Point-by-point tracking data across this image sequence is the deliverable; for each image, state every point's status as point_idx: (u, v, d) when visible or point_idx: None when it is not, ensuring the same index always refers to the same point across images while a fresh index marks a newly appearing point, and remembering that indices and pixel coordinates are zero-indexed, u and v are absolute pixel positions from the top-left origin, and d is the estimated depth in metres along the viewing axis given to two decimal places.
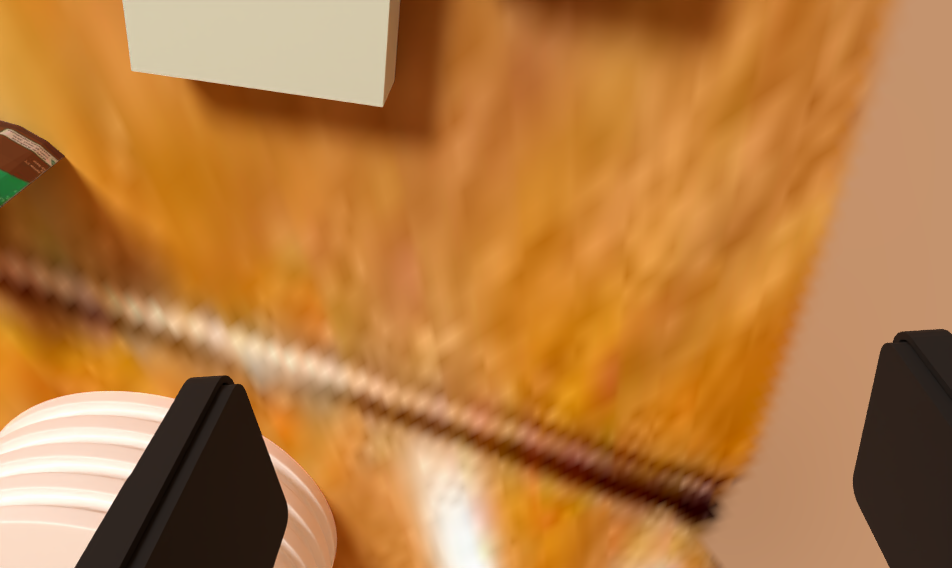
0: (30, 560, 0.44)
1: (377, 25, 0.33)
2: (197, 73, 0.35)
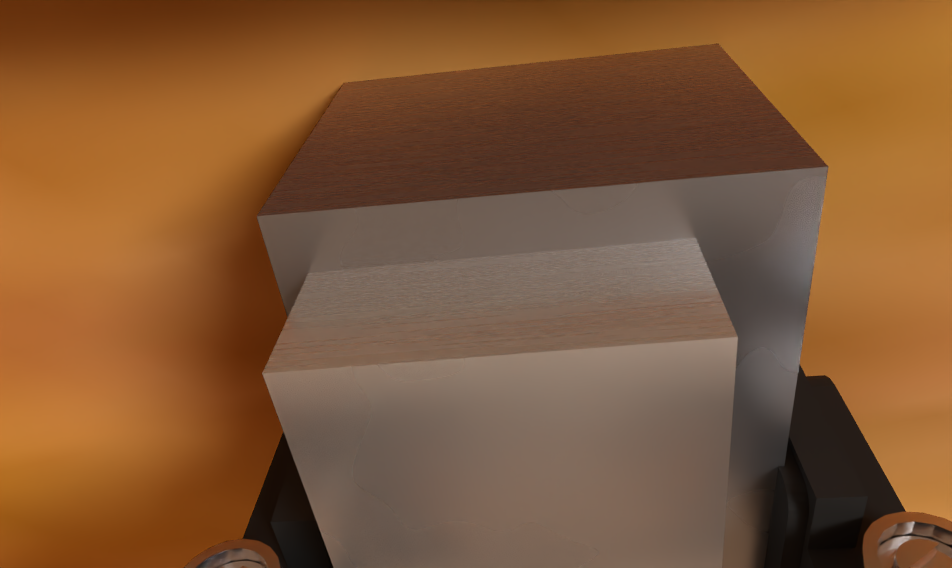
0: None
1: None
2: None
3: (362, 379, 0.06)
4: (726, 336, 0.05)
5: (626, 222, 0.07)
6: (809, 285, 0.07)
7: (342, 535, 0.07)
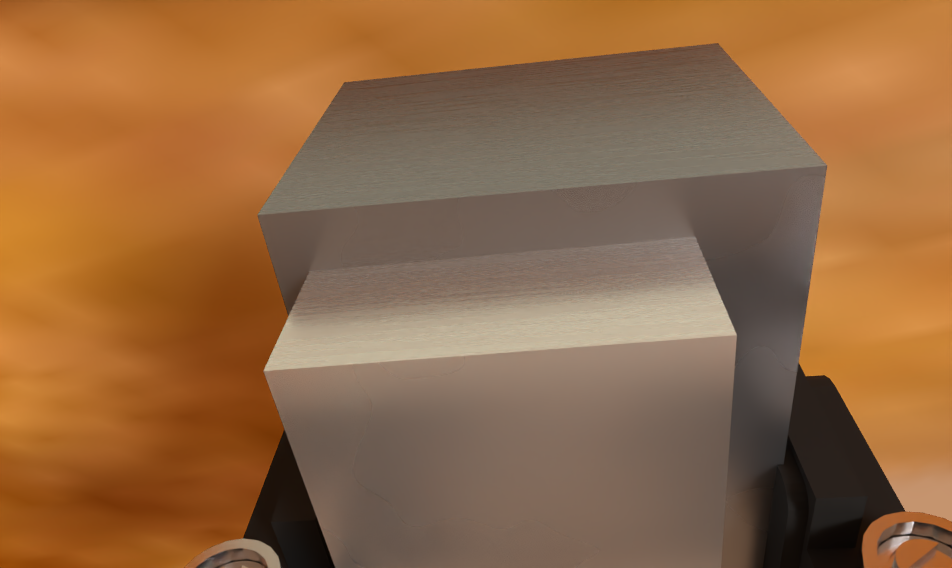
0: None
1: None
2: None
3: (362, 376, 0.06)
4: (725, 333, 0.05)
5: (625, 221, 0.07)
6: (808, 284, 0.07)
7: (342, 532, 0.07)
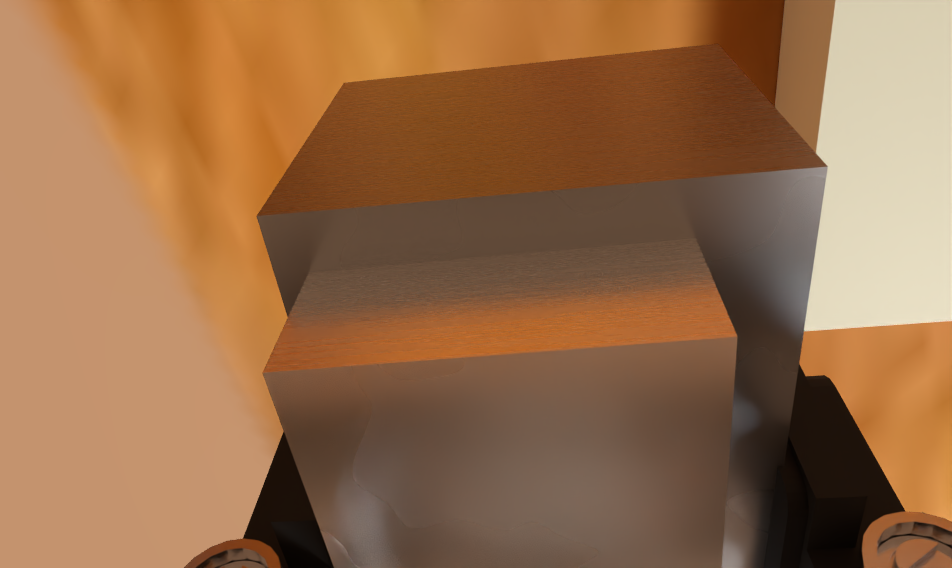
0: None
1: None
2: None
3: (362, 378, 0.06)
4: (726, 336, 0.05)
5: (626, 222, 0.07)
6: (809, 284, 0.07)
7: (342, 534, 0.07)
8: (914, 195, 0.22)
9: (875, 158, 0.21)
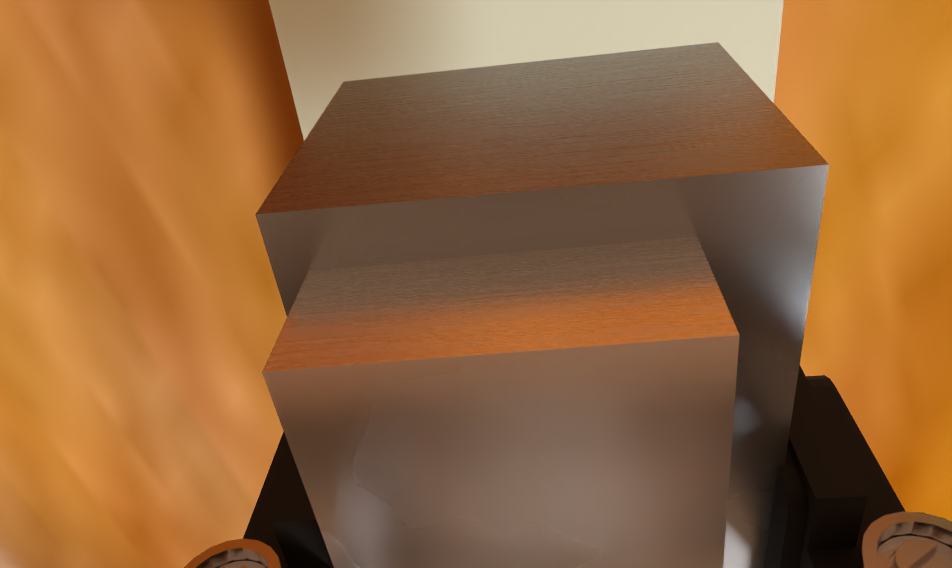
0: None
1: None
2: None
3: (362, 377, 0.06)
4: (728, 334, 0.05)
5: (626, 221, 0.07)
6: (810, 284, 0.07)
7: (342, 534, 0.07)
8: None
9: None
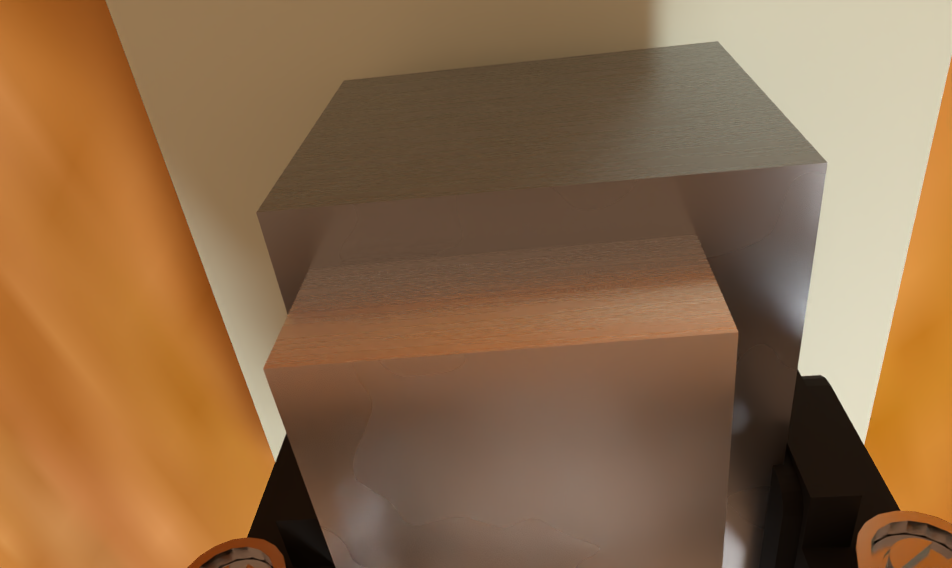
0: None
1: (159, 61, 0.11)
2: None
3: (362, 374, 0.06)
4: (727, 330, 0.05)
5: (626, 218, 0.07)
6: (809, 281, 0.07)
7: (342, 531, 0.07)
8: None
9: None
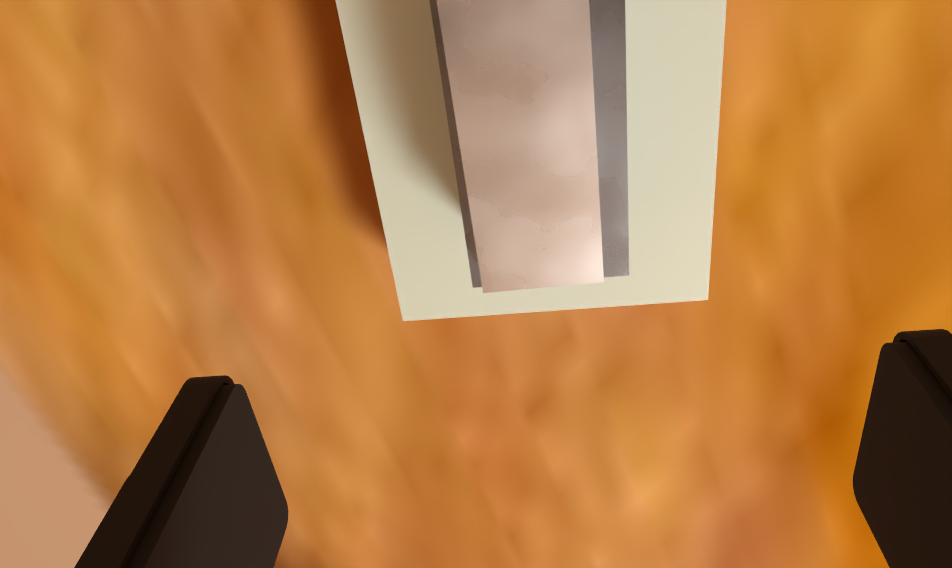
0: None
1: None
2: None
3: None
4: None
5: None
6: None
7: (455, 72, 0.18)
8: None
9: (420, 179, 0.26)
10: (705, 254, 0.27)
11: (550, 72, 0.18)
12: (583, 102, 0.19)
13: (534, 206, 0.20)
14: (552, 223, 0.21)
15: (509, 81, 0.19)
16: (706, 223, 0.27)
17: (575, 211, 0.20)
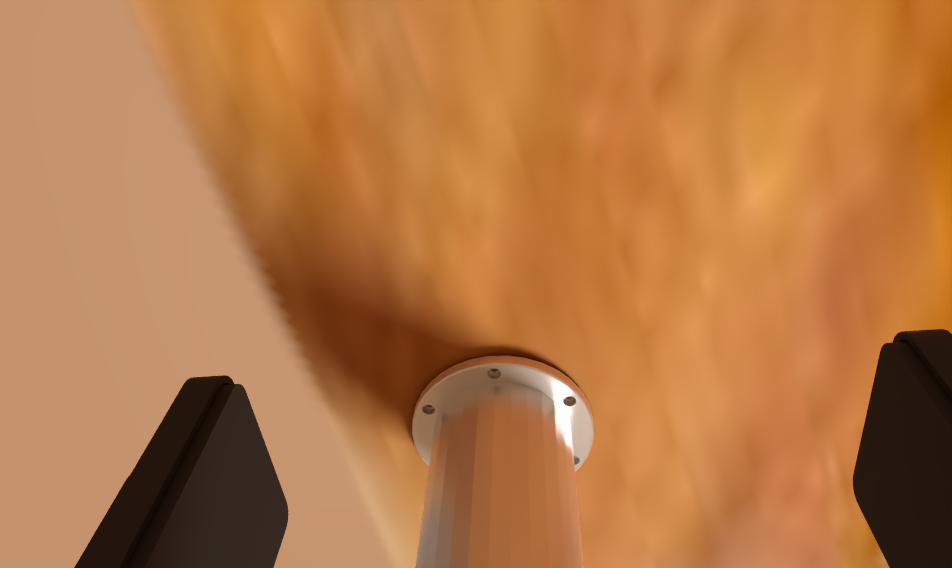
0: None
1: None
2: None
3: None
4: None
5: None
6: None
7: None
8: None
9: None
10: None
11: None
12: None
13: None
14: None
15: None
16: None
17: None
